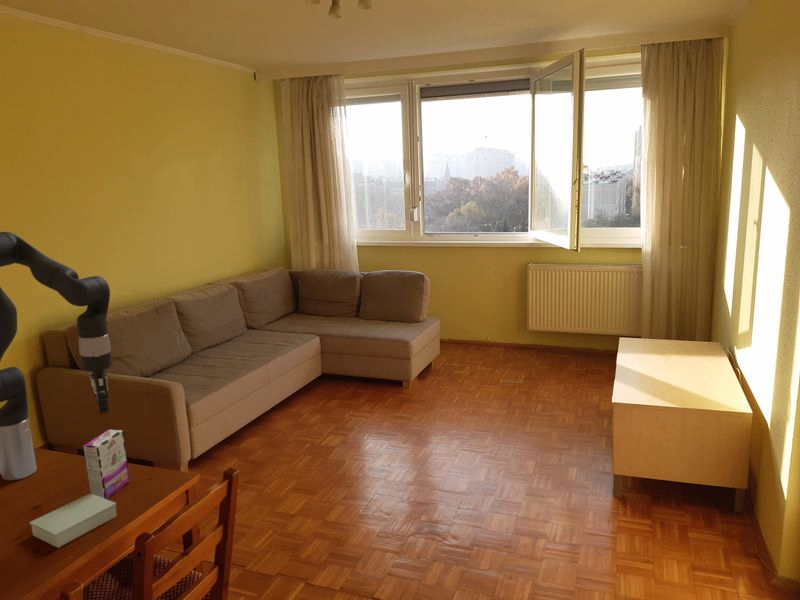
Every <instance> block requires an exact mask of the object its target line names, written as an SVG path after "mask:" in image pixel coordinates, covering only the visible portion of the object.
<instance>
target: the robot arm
mask: <svg viewBox="0 0 800 600" xmlns="http://www.w3.org/2000/svg"><path fill="white" fill-rule="evenodd" d="M13 264H18V265H22V266H25V267H27V268H29V270H30V272H31V276H32V277H33V278H34V279H35V280H36V281H37V282H38V283H39V284H41V285H43V286H45V287H46V288H49V289H51V290H54V291H55V292H57V293H58V294H59V295H60V296H61V297H62V298H63V299H64V300H65V301H66V302H67V303H69V304H70V305H72V306H75V307H86V310H84V311H83V312H82V313H81V314H79V316H77V318H76V325H77V333H78V349H79V356H80V357H79V359H80V365H81V367H80V368H81V369H82V370H83V371H84V372H88V373H91V374H89V378H90V381H91V383H90V384H91V386H92V389H93V393H94V397H95V403H96V404H97V405H98V412H99V414H100V415H102V414H107V413H109V405H108V400H109V398H110V397H109V396H108V391H109V387H108V386H109V384H108V375H107V372H106V371H105V370H108V369H110V368H111V367H112V366H113V356H112V349H111V341H110V337H109V333H108V325H107V324H108V323H107V315H108V311H109V310H108V309H109V304H110V297H111V291H110V290H111V288H110V285H109V283H108V282H107V280H106V279H105V278H104V277H102V276H100V275H99V276H98V275H93V276H88V277H84V278H80V277H79V274H78V273H77V271H76V270H75V269H73V268H71V267H70V266H67V265H65V264H63V263H60V262H58V261H56V260H54V259H52V258H50V257H48V256H47V255H45V254H44V253H42V252H41V251H39V250H38V249H37V248H35V247H34V246H32V245H31V244H29V243H28V242H27V241H25V240H24V239H23V238H21V237H20V236H19V235H17V234H15V233H12V232H9V231H0V268H1V267H6V266H10V265H13ZM17 333H18V311H17V307H16V305H15V304H14V302H13V301H12V300H11V298H10V297H9V296H8V295H7V293H5V291H4V290H3V289H2V287H1V286H0V362H1V361H2V358H3V357H4V354H5V353H6V352H7V350H8V349H9V347H10V346H11V343H12V342H13V341H14V339H15V337H16V334H17ZM5 401H6V402H5ZM2 402H5V403H4V404H3V406H2V407H0V475H1V479H2V480H4V481H15V480H21V479H25V478H27V477H29V476H31V475H34V473H36V471H37V463H36V455H35V450H34V444H33V437H32V432H31V424H30V418H29V402H28V392H27V383H26V379H25V376H24V373H23V371H22V370H21V369H20V368H19V367H17V366H10V367H6V368H3V369H0V403H2Z"/></svg>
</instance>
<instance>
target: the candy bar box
mask: <svg viewBox="0 0 800 600" xmlns="http://www.w3.org/2000/svg"><path fill="white" fill-rule="evenodd" d="M82 447H83V454H84V460H85V464H86V465H85V467H86V471H87V472H86V473H87V479H88V484H89V489H90V490H89V491H90V493H92V494H94V495H97V496H99V497H102V498H104V499H107V500H109V498H111V497H113V495H114V494H116V493H117V492H118V491H120V490H121V489H122V488H123V487H124V486H125V485H127V484H128V483H129V482H130V481H131V479H130V474H129V473H130V471H129V466H128V459H127V452H126V446H125V439H124V433H123V430H122V429H111V428H110V429H107V430H106V431H104V432H103V433H101V434H99V435H98V436H97V437H95V438H93V439H91V440H90V441H88V442H87V443H86V444H84V445H83V446H82Z"/></svg>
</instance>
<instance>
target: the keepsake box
mask: <svg viewBox="0 0 800 600" xmlns="http://www.w3.org/2000/svg"><path fill="white" fill-rule="evenodd" d="M116 517H118V514H117V502H115V501H113V500H109V499H104V498H102V497H99V496H97V495H94V494H92V493H91V492H89V493H87V494H85V495H83V496H81V497H79V498H78V499H75V500H73V501H71V502H69V503H66V504H65V505H63V506H60V507H59V508H56V509H54V510H52V511H50V512H48V513H46V514H44V515H42V516H40V517H38V518H36V519H34V520H31V521H30V522H29V525H30V526H31V531H32V536H34V537H35V538H38V539H39V540H41V541H44V542H46V543H48V544H50V545H51V546H53V547H56V548H61V547H62V546H65V545H66V544H69V543H70V542H71V541H73V540H75V539H77V538H79V537H81V536H83V535H84V534H87V533H88V532H90V531H92V530H94V529H96V528H98V527H100V526H101V525H103V524H105V523H107V522H109V521H110V520H112V519H114V518H116Z"/></svg>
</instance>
